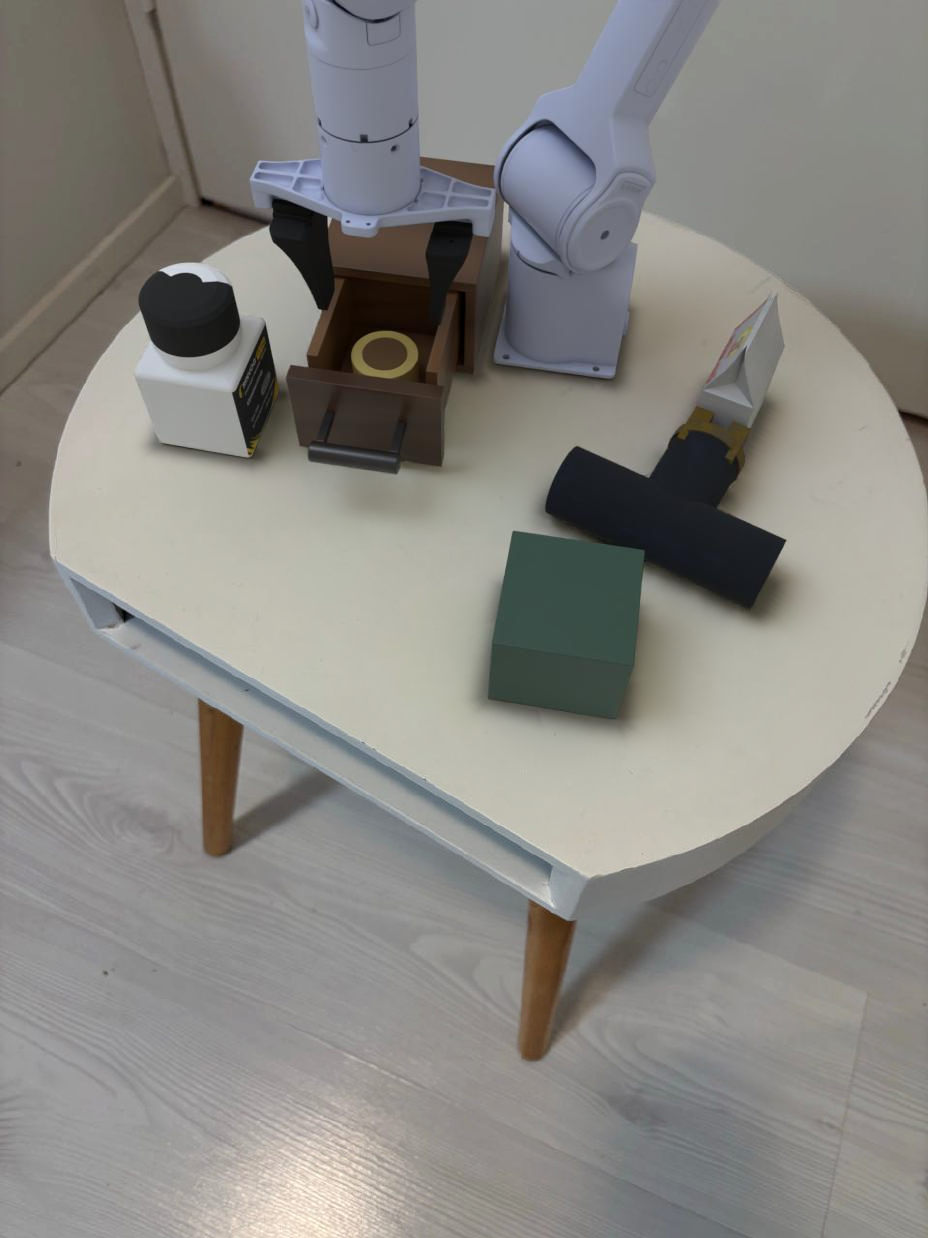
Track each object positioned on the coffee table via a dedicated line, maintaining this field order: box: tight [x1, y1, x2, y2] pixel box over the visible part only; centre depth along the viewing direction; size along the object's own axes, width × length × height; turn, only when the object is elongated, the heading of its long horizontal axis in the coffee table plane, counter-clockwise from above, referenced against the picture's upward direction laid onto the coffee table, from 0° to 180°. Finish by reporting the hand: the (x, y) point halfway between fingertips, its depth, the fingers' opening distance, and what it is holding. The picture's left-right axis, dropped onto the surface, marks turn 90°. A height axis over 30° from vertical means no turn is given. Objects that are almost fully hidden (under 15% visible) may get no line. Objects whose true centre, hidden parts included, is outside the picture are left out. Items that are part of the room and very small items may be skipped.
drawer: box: [285, 275, 463, 475], centre depth 68 cm, size 17×10×7 cm, turn 170°
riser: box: [487, 530, 645, 720], centre depth 59 cm, size 8×8×7 cm
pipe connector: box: [544, 405, 788, 611], centre depth 65 cm, size 12×5×15 cm
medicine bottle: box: [133, 262, 280, 458], centre depth 67 cm, size 7×7×12 cm
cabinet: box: [320, 156, 505, 376], centre depth 75 cm, size 14×12×9 cm
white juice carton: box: [696, 290, 786, 431], centre depth 68 cm, size 4×7×10 cm, turn 153°
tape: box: [351, 331, 420, 383], centre depth 70 cm, size 5×5×3 cm
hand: (381, 307), depth 65 cm, fingers open, 7 cm apart
